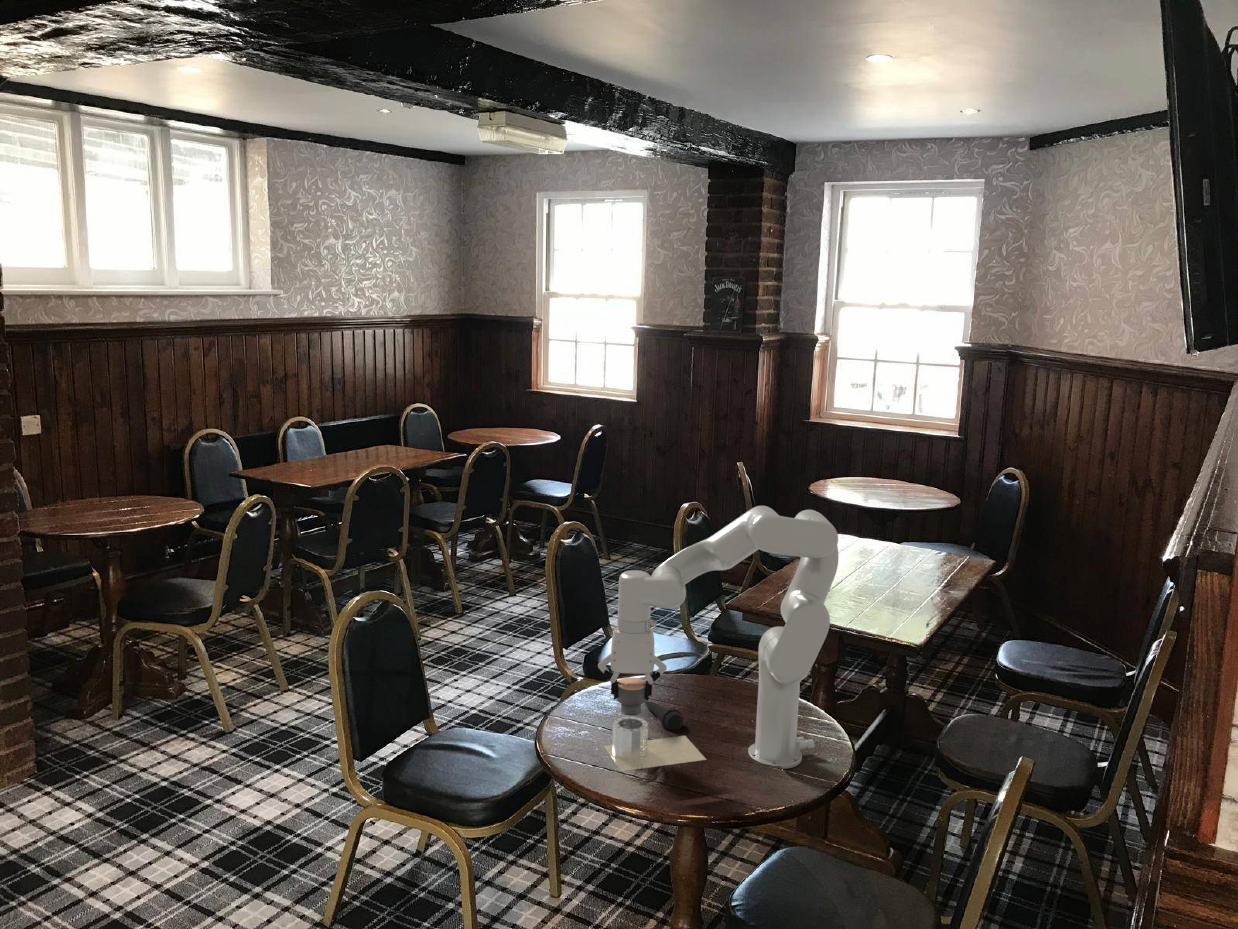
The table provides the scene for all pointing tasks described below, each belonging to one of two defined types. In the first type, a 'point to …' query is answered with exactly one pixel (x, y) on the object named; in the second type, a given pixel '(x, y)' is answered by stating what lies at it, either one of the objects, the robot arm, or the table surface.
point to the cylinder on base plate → (647, 747)
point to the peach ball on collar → (631, 695)
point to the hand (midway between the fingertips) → (631, 697)
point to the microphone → (666, 716)
